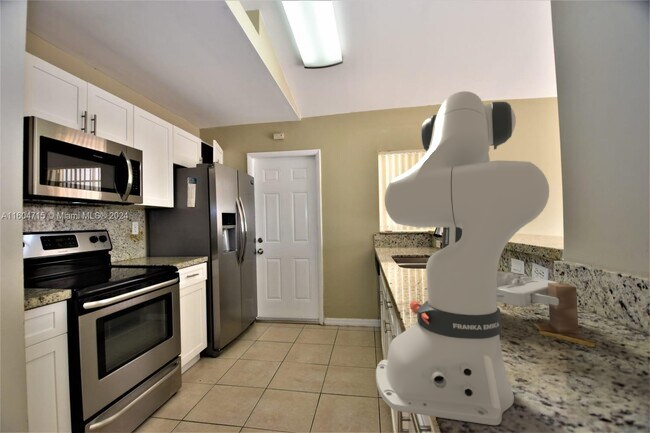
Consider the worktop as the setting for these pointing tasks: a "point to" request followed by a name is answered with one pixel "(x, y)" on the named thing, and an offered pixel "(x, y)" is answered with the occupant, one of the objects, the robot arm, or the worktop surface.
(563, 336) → the shard
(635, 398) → the worktop surface
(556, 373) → the worktop surface
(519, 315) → the worktop surface
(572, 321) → the walnut block
